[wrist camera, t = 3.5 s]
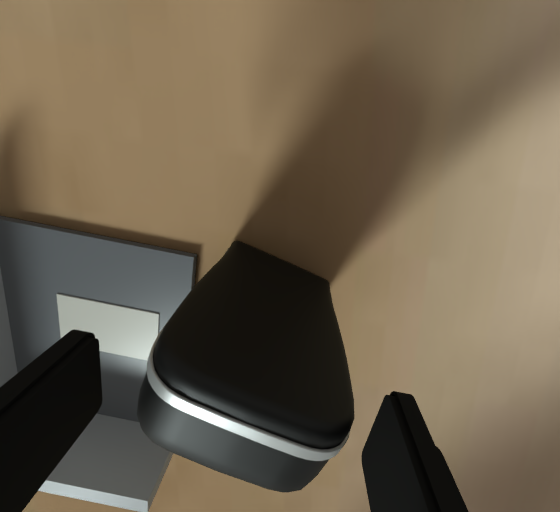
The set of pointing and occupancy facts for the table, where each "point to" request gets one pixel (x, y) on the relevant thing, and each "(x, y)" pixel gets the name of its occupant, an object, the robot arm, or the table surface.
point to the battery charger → (251, 374)
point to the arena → (107, 329)
